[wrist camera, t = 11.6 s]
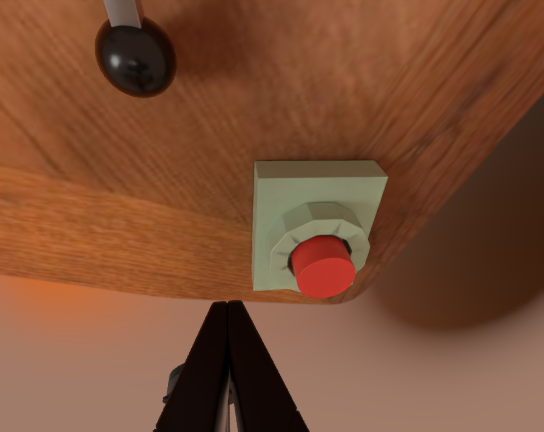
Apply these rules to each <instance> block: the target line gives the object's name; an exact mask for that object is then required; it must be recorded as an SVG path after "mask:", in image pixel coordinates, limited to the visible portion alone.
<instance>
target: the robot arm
mask: <svg viewBox="0 0 544 432" xmlns="http://www.w3.org/2000/svg"><path fill="white" fill-rule="evenodd" d="M230 378H231V387H232V391H231V390H230V389H229V379H230ZM163 403H165V407H164V409H163V411H162V413H161V415H160V417H159V420H158V422H157V424H156V429H154V430H153V432H230V407H229V406H230V404H233V403H234V407H235V413H236V421H237V428H238V432H310V431H309V429H308V428H307V426H306V424H305V422H304V420H303V418H302V416H301V414H300V412H299V411H297V407H296V405H295V403H294V401H293V399H292V397H291V395H290V393H289V391H288V389H287V388H286V386H285V384H284V382H283V380H282V378H281V376H280V374H279V372H278V370H277V368H276V366H275V364H274V362H273V360H272V358H271V356H270V354H269V353H268V351H267V349H266V347H265V345H264V343H263V341H262V339H261V337H260V335H259V333H258V331H257V329H256V327H255V325H254V323H253V321H252V320H251V318H250V316H249V314H248V312H247V310H246V308H245V306H244V304H243V302H242V301H241V300H232V301H228V303H227V302H226V301H219V302H213V303H212V305H211V307H210V309H209V311H208V313H207V316H206V318H205V320H204V322H203V324H202V327H201V329H200V331H199V333H198V335H197V337H196V339H195V342H194V344H193V346H192V348H191V350H190V352H189V355H188V357H187V359H186V361H185V363H184V365H183V368H182V370H181V372H180V374H179V376H178V378H177V381H176V383H175V385H174V387H173V389H172V391H171V394H169V395H167V396H165V397H163Z"/></svg>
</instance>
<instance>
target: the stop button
mask: <svg viewBox="0 0 544 432" xmlns="http://www.w3.org/2000/svg"><path fill="white" fill-rule="evenodd" d="M291 261H292V266H293V270H294V274H295V278H296V282H297V286H298V288H299V290H300V291H301V292H302V293H303V294H305V295H307V296H309V297H313V298H325V297H330V296H334V295H336V294H338V293H340V292H342V291H344V290H345V289H347V288H348V287H349V286H350V285H351V284H352V282H353V281H354V279H355V275H356V270H355V267H354V265H353V262H352V260H351V258H350V256H349V254H348V252H347V249H346V247H345V245H344V243H343V242H342V241H341V240H340V239H339V238H337V237H335V236H331V235H317V236H314V237H312V238H309V239H307V240H305V241H303V242H301V243H300V244H299V245H298V246H297V247H296V248H295V249H294V251H293V253H292V257H291Z"/></svg>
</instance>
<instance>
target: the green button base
mask: <svg viewBox="0 0 544 432" xmlns="http://www.w3.org/2000/svg"><path fill="white" fill-rule="evenodd" d="M387 179H388V176H387V175H386V174H385V172H384V171H383V170H382V169H381V168H380V167H379V165H378V164H377V163H376V162H375V161H374V160H364V161H255V166H254V201H253V235H252V269H251V270H252V280H253V290H254V291H262V290H277V289H292V290H295V291H298V292H301V291H300V290H299V288H298V286H297V282H296V278H295V274H294V270H293V266H292V261H291V257H292V253H293V251H294V249H295V248H296V247H297V246H298V245H299V244H300V243H301V242H303V241H305V240H307V239H309V238H312V237H314V236H317V235H331V236H335V237H337V238H339V239H340V240H341V241H342V242H343V243H344V245H345V247H346V249H347V252H348V254H349V256H350V258H351V260H352V262H353V265H354V267H355V270H356V273H357V272H358V271H359V270H360V269H361V268H362V267H363V266H364V264H365V261H366V258H367V255H368V253H369V250H370V244H369V242H368V236H369V233H370V230H371V227H372V224H373V221H374V218H375V215H376V212H377V209H378V206H379V203H380V200H381V197H382V194H383V191H384V188H385V185H386V182H387ZM352 284H353V282H352ZM352 284H351V285H352Z"/></svg>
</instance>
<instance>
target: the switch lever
mask: <svg viewBox="0 0 544 432" xmlns="http://www.w3.org/2000/svg"><path fill="white" fill-rule="evenodd" d="M103 2H104V5H105V8H106V11H107V14H108V18H109V19H108V20H107V21H105V22H104V23H103V25H102V26H101V27H100V29H99V31H98V33H97V36H96V39H95V55H96V60H97V63H98V66H99V68H100V70H101V72H102V73H103V75H104V76H105V78H106V79H107V80H108V81H109V82H110V83H111V84H112V85H113V86H114V87H115V88H117V89H118V90H119V91H121V92H123V93H125V94H127V95H130V96H133V97H138V98H149V97H154V96H157V95H159V94H161V93H163V92H164V91H165V90H166V89H167V88H168V87H169V86H170V85H171V83H172V82H173V80H174V78H175V75H176V70H177V56H176V52H175V48H174V46H173V43H172V41H171V40H170V38H169V36H168V35H167V33H166V32H165V31H164V30H163V29H162V28H161V27H160V26H159V25H158V24H157V23H155V22H154V21H152V20H151V19H149V18H147V17H145V16H144V13H143V8H142V4H141V0H103Z"/></svg>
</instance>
